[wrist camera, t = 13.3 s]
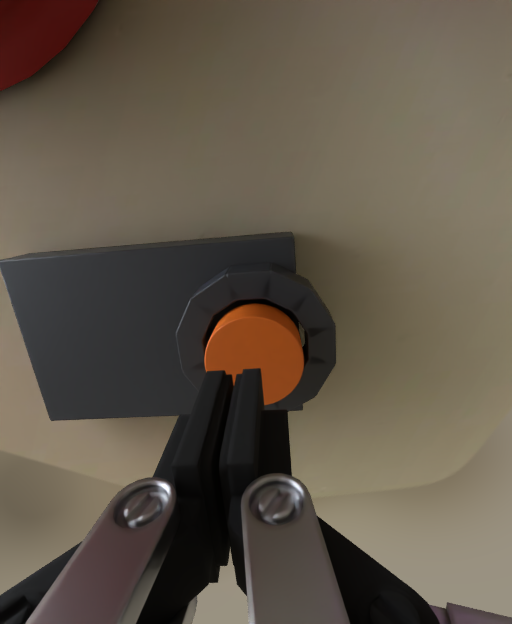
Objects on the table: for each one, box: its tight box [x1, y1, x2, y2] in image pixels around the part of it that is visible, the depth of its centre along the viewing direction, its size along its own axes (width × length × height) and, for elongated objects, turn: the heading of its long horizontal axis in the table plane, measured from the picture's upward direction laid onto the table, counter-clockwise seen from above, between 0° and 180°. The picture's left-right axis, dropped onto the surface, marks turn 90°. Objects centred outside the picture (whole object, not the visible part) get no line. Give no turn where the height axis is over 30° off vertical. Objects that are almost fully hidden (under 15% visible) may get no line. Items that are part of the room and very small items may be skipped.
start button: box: [204, 303, 304, 405], centre depth 14 cm, size 4×4×2 cm
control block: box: [0, 232, 336, 421], centre depth 17 cm, size 15×9×4 cm, turn 95°
